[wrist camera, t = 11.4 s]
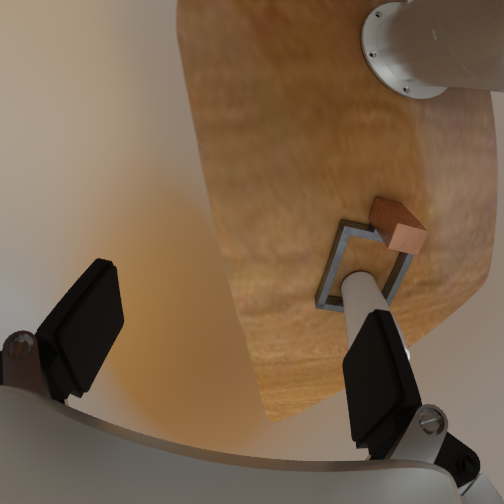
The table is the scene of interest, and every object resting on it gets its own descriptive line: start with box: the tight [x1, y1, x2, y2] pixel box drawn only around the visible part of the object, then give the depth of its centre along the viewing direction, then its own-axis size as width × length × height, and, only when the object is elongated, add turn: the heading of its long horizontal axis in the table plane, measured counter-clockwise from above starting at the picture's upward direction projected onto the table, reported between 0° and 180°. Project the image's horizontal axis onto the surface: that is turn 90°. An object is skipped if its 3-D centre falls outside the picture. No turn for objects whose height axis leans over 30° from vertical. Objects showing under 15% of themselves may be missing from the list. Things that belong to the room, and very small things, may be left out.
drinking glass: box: [341, 272, 410, 360], centre depth 34 cm, size 7×7×15 cm
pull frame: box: [315, 197, 428, 312], centre depth 35 cm, size 17×11×8 cm, turn 171°
